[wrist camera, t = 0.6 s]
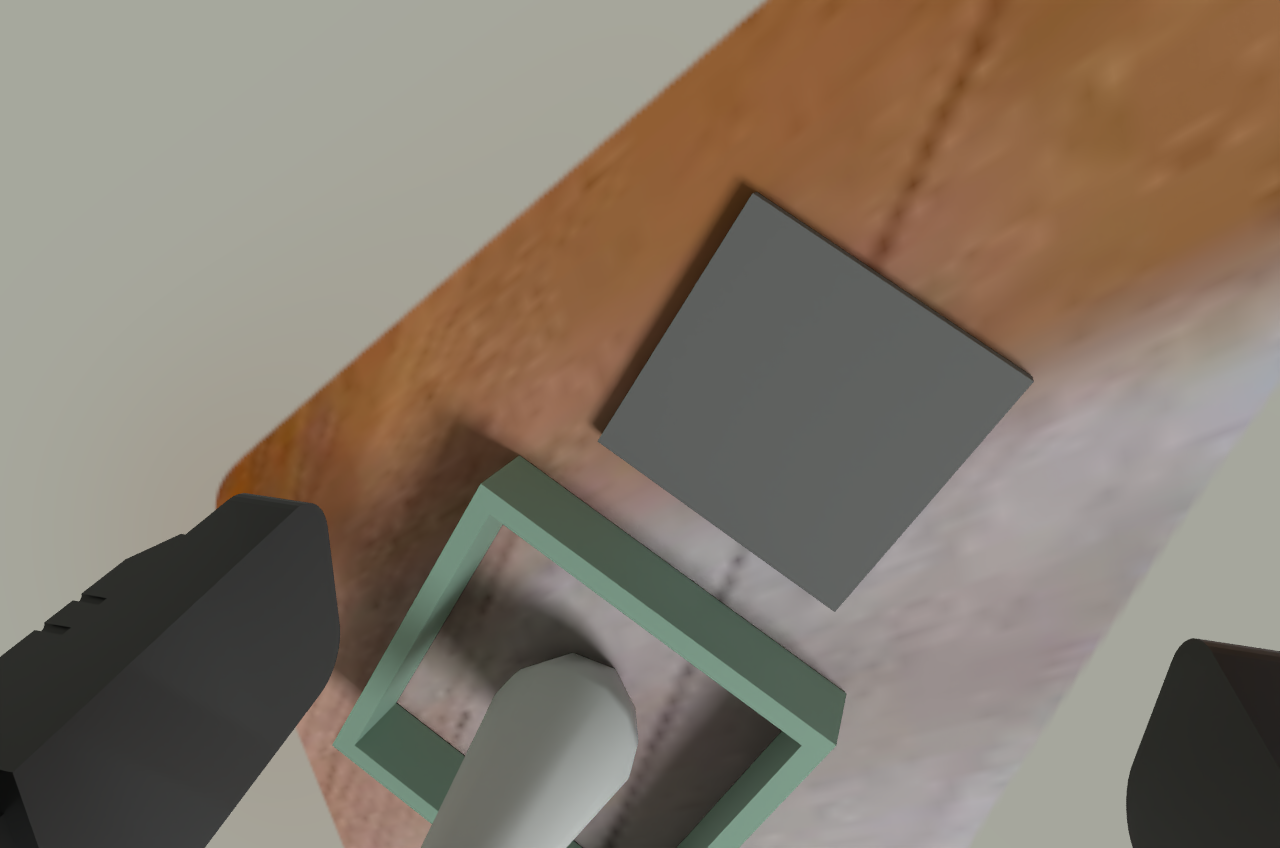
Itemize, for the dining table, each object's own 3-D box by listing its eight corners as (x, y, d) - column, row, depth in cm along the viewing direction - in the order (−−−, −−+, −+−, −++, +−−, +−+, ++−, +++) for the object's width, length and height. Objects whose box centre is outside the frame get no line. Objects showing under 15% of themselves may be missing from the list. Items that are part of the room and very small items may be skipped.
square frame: (519, 455, 33) (480, 483, 31) (846, 693, 32) (835, 745, 29) (375, 703, 40) (332, 745, 37) (643, 912, 38) (619, 972, 35)
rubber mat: (756, 192, 28) (752, 193, 27) (1032, 376, 27) (1033, 381, 26) (603, 436, 32) (597, 441, 32) (836, 603, 31) (834, 611, 30)
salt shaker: (531, 613, 35) (320, 850, 24) (667, 664, 34) (515, 942, 22) (511, 730, 37) (308, 1001, 26) (638, 782, 36) (485, 1094, 24)
